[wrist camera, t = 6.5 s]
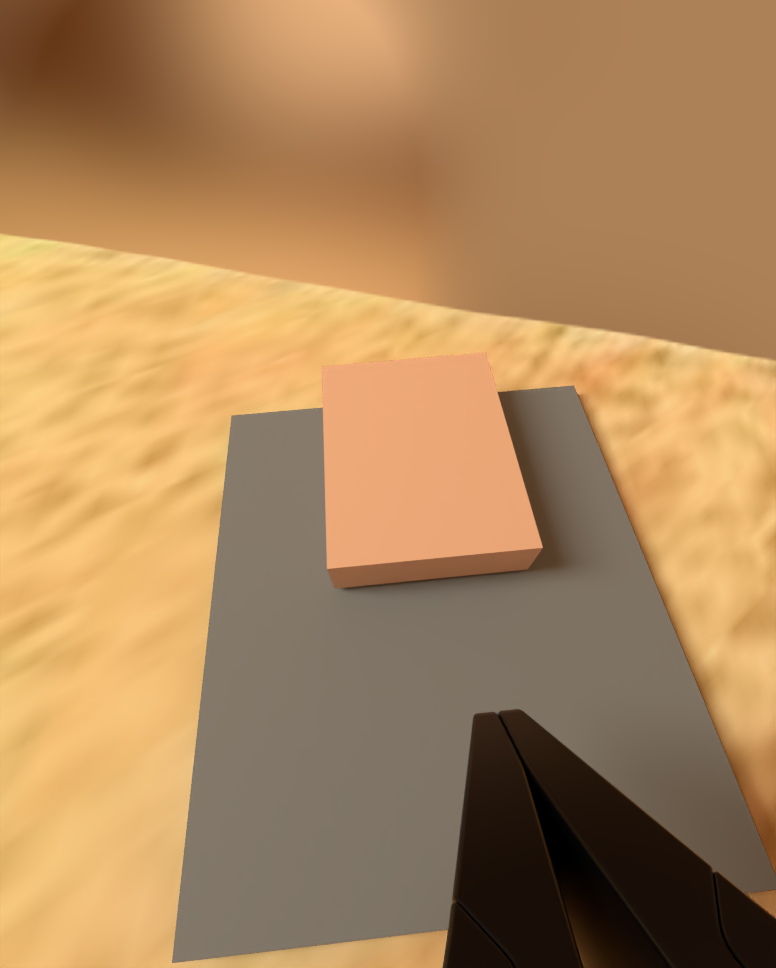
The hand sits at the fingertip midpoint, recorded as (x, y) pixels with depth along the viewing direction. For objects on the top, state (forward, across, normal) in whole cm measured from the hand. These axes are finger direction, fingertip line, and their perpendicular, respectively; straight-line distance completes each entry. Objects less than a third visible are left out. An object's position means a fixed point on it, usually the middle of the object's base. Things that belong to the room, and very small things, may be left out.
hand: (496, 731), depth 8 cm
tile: (+8, 0, 0) cm, 8 cm away
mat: (+9, 0, +2) cm, 9 cm away
